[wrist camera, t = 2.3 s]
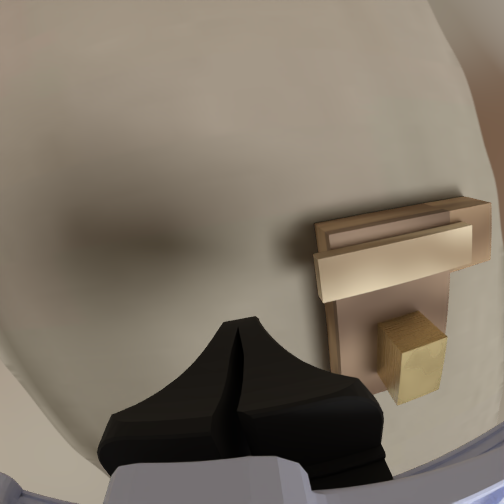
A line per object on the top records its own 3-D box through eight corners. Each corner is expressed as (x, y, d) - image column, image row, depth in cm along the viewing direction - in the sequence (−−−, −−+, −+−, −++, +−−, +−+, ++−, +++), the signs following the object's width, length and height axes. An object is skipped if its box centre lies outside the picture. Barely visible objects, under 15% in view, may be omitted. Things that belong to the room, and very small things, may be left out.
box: (457, 335, 23) (477, 353, 19) (331, 376, 23) (342, 403, 19) (463, 196, 19) (491, 202, 16) (314, 223, 19) (328, 234, 16)
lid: (434, 364, 20) (463, 396, 16) (339, 396, 20) (357, 438, 16) (442, 208, 17) (486, 222, 13) (324, 231, 17) (352, 253, 13)
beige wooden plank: (462, 258, 17) (471, 262, 16) (318, 295, 17) (323, 303, 16) (462, 221, 16) (472, 224, 15) (313, 253, 16) (317, 259, 15)
